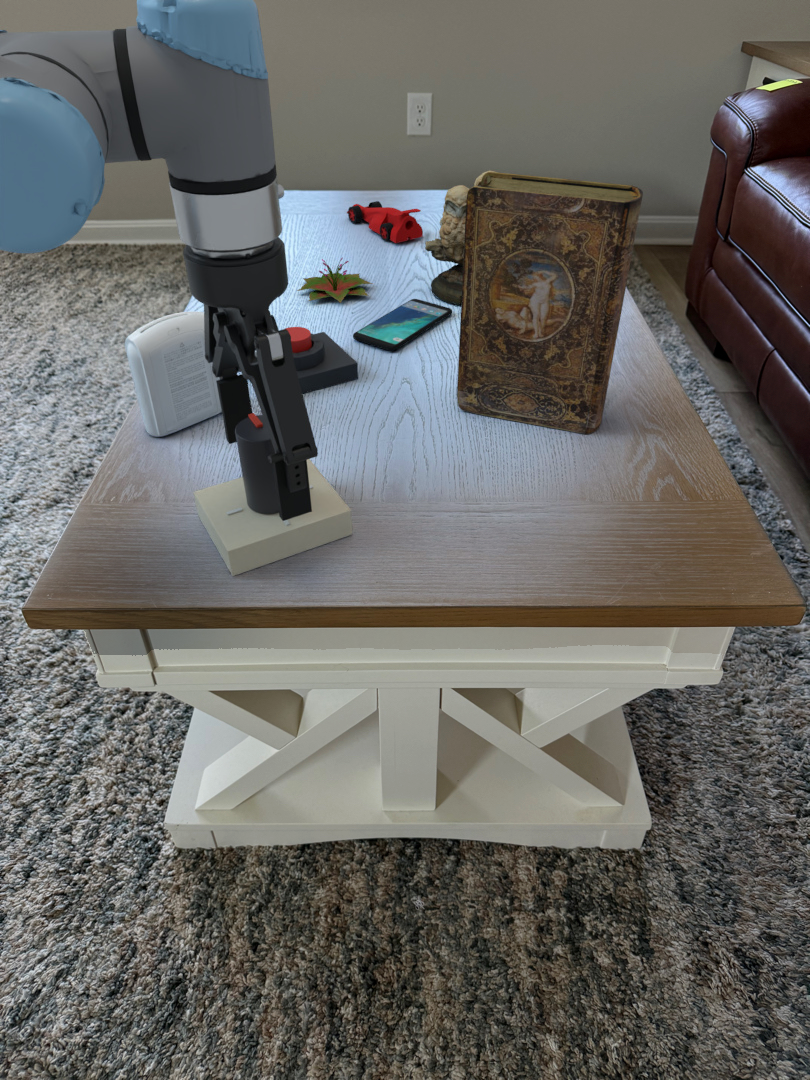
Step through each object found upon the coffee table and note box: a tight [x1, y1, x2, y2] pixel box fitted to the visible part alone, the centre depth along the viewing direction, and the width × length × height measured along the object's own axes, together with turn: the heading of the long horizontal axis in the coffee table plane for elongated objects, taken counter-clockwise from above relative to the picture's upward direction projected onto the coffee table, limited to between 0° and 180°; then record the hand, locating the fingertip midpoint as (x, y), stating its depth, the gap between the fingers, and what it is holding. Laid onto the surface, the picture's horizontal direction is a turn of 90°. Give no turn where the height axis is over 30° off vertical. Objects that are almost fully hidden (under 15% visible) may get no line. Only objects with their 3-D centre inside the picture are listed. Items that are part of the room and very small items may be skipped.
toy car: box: [346, 200, 424, 244], centre depth 138 cm, size 6×18×5 cm, turn 33°
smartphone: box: [352, 298, 453, 352], centre depth 109 cm, size 7×1×15 cm
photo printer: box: [124, 310, 222, 438], centre depth 87 cm, size 10×4×12 cm, turn 134°
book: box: [456, 171, 644, 435], centre depth 84 cm, size 16×6×25 cm, turn 70°
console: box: [192, 459, 353, 577], centre depth 75 cm, size 12×10×3 cm
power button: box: [284, 326, 312, 353], centre depth 96 cm, size 4×4×2 cm
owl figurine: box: [424, 169, 496, 306], centre depth 112 cm, size 18×12×17 cm, turn 82°
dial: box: [235, 412, 279, 514], centre depth 71 cm, size 4×4×8 cm
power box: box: [251, 331, 359, 394], centre depth 98 cm, size 12×10×4 cm
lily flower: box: [296, 257, 374, 304], centre depth 117 cm, size 12×12×5 cm
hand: (266, 474), depth 72 cm, fingers open, 13 cm apart
